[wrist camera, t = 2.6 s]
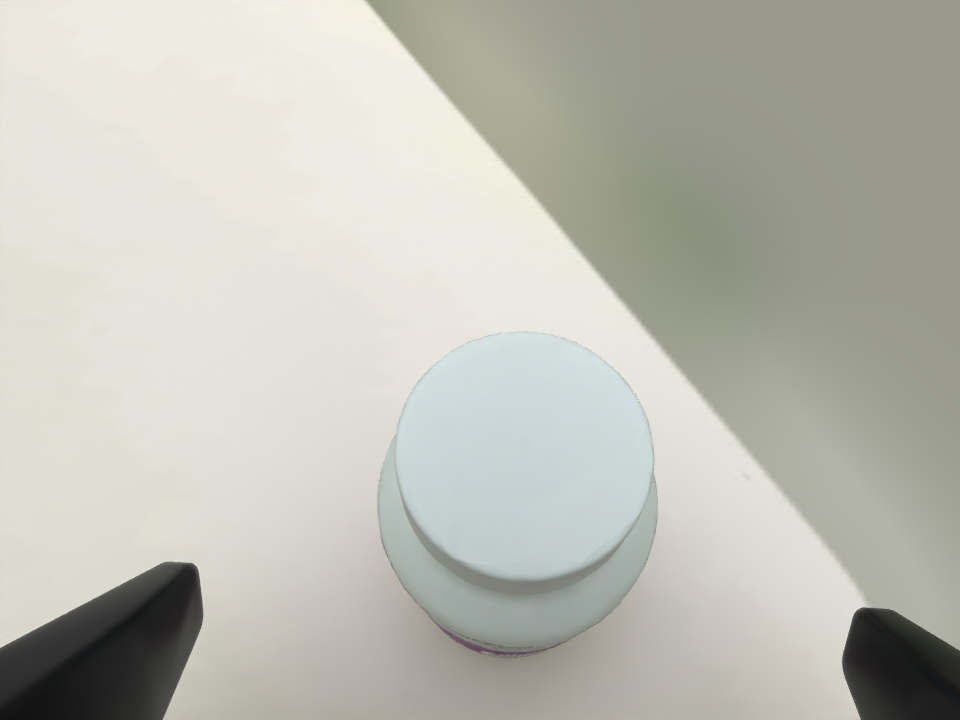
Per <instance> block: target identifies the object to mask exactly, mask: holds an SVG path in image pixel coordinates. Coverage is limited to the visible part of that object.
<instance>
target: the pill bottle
mask: <svg viewBox="0 0 960 720" xmlns="http://www.w3.org/2000/svg"><path fill="white" fill-rule="evenodd" d="M657 503H658V501H657V489H656V482H655V477H654V447H653V441H652V435H651V431H650V427H649V422H648V419H647V417H646V415H645V412H644V410H643V408H642V406H641V404H640V402H639V400H638V398H637V396H636V394H635V393H634V392H633V390H632V389H631V387H630V386H629V384H628V383H627V382H626V381H625V379H624V378H623V377H622V376H621V375H620V374H619V373H618V372H617V371H616V370H615V369H614V368H613V367H612V366H610V365H609V364H608V363H607V362H606V361H605V360H603V359H602V358H601V357H599V356H598V355H596V354H595V353H593V352H592V351H590V350H589V349H587V348H585V347H583V346H582V345H579V344H577V343H575V342H573V341H570V340H567V339H565V338H561V337H557V336H553V335H548V334H544V333H536V332H509V333H498V334H493V335H489V336H486V337H483V338H479V339H476V340H473V341H471V342H469V343H466V344H464V345H462V346H460V347H458V348H457V349H455V350H453V351H451V352H450V353H449V354H447V355H446V356H444V357H443V358H442V359H440V360H439V361H438V362H437V363H436V364H435V365H434V366H433V367H432V368H431V369H429V370H428V371H427V372H426V373H425V374H424V375H423V377H422V378H421V379H420V380H419V381H418V383H417V384H416V386H415V387H414V389H413V390H412V392H411V394H410V395H409V397H408V399H407V401H406V403H405V405H404V408H403V410H402V413H401V416H400V419H399V422H398V426H397V431H396V435H395V437H394V438H393V440H392V442H391V444H390V447H389V449H388V451H387V454H386V457H385V460H384V462H383V466H382V470H381V475H380V480H379V487H378V521H379V526H380V534H381V540H382V543H383V546H384V549H385V552H386V554H387V557H388V559H389V561H390V564H391V566H392V568H393V570H394V571H395V573H396V575H397V577H398V578H399V580H400V582H401V584H402V585H403V587H404V588H405V590H406V591H407V592H408V593H409V594H410V596H411V597H412V598H413V599H414V601H415V602H416V603H417V604H418V605H420V606H421V608H422V609H423V610H424V611H425V612H426V613H427V614H428V615H429V617H430V618H431V619H432V620H433V621H434V622H435V623H436V624H437V625H438V626H439V628H441V629H442V630H443V631H444V632H445V633H446V634H447V635H448V636H450V637H451V638H452V639H454V640H455V641H457V642H458V643H460V644H462V645H464V646H466V647H467V648H469V649H472V650H474V651H477V652H479V653H483V654H486V655H489V656H495V657H503V658H509V657H522V656H528V655H532V654H536V653H539V652H542V651H545V650H547V649H550V648H553V647H555V646H557V645H559V644H561V643H563V642H566V641H567V640H569V639H571V638H573V637H574V636H576V635H578V634H579V633H581V632H583V631H585V630H586V629H588V628H590V627H592V626H594V625H595V624H597V623H599V622H600V621H601V620H602V619H604V618H605V617H606V616H607V615H608V614H610V613H611V612H612V611H613V610H614V609H615V608H616V607H617V606H618V605H619V604H620V602H621V600H622V599H623V598H624V597H625V596H626V594H627V593H628V592H629V590H630V589H631V588H632V586H633V585H634V583H635V582H636V580H637V579H638V577H639V575H640V573H641V572H642V570H643V568H644V566H645V564H646V561H647V559H648V556H649V553H650V550H651V547H652V544H653V540H654V536H655V531H656V525H657Z"/></svg>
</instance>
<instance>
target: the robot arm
mask: <svg viewBox="0 0 960 720" xmlns="http://www.w3.org/2000/svg"><path fill="white" fill-rule="evenodd" d="M202 621H203V604H202V596H201V587H200V578H199V572H198V569H197V567H196V566H195V565H194V564H193V563H184V562H164V563H162V564H160V565H158V566H156V567H154V568H152V569H150V570H148V571H146V572H144V573H142V574H141V575H139V576H137V577H135V578H133V579H131V580H129V581H127V582H125V583H123V584H122V585H120V586H118V587H116V588H114V589H112V590H110V591H108V592H106V593H104V594H102V595H101V596H99V597H97V598H95V599H93V600H91V601H89V602H87V603H85V604H83V605H81V606H80V607H78V608H76V609H74V610H72V611H70V612H68V613H66V614H64V615H62V616H60V617H58V618H57V619H55V620H53V621H51V622H49V623H47V624H45V625H43V626H41V627H39V628H37V629H36V630H34V631H32V632H30V633H28V634H26V635H24V636H22V637H20V638H18V639H16V640H15V641H13V642H11V643H9V644H7V645H5V646H3V647H1V648H0V720H163V718H164V715H165V713H166V710H167V708H168V706H169V703H170V701H171V699H172V696H173V694H174V691H175V689H176V687H177V684H178V682H179V680H180V677H181V675H182V672H183V670H184V668H185V665H186V663H187V661H188V658H189V656H190V653H191V651H192V649H193V646H194V644H195V642H196V639H197V637H198V634H199V632H200V629H201V626H202ZM842 666H843V672H844V676H845V679H846V681H847V684H848V687H849V689H850V692H851V695H852V697H853V700H854V703H855V705H856V708H857V711H858V713H859V716H860V719H861V720H960V651H959V650H958V649H956V648H954V647H952V646H951V645H949V644H948V643H946V642H944V641H943V640H941V639H939V638H938V637H936V636H934V635H933V634H931V633H930V632H928V631H926V630H925V629H923V628H921V627H920V626H918V625H916V624H915V623H913V622H911V621H910V620H908V619H906V618H905V617H903V616H902V615H900V614H898V613H897V612H895V611H893V610H889V609H879V608H860V609H858V610H857V611H856V612H855V613H854V616H853V619H852V622H851V626H850V630H849V634H848V637H847V641H846V645H845V649H844V652H843V658H842Z"/></svg>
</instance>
